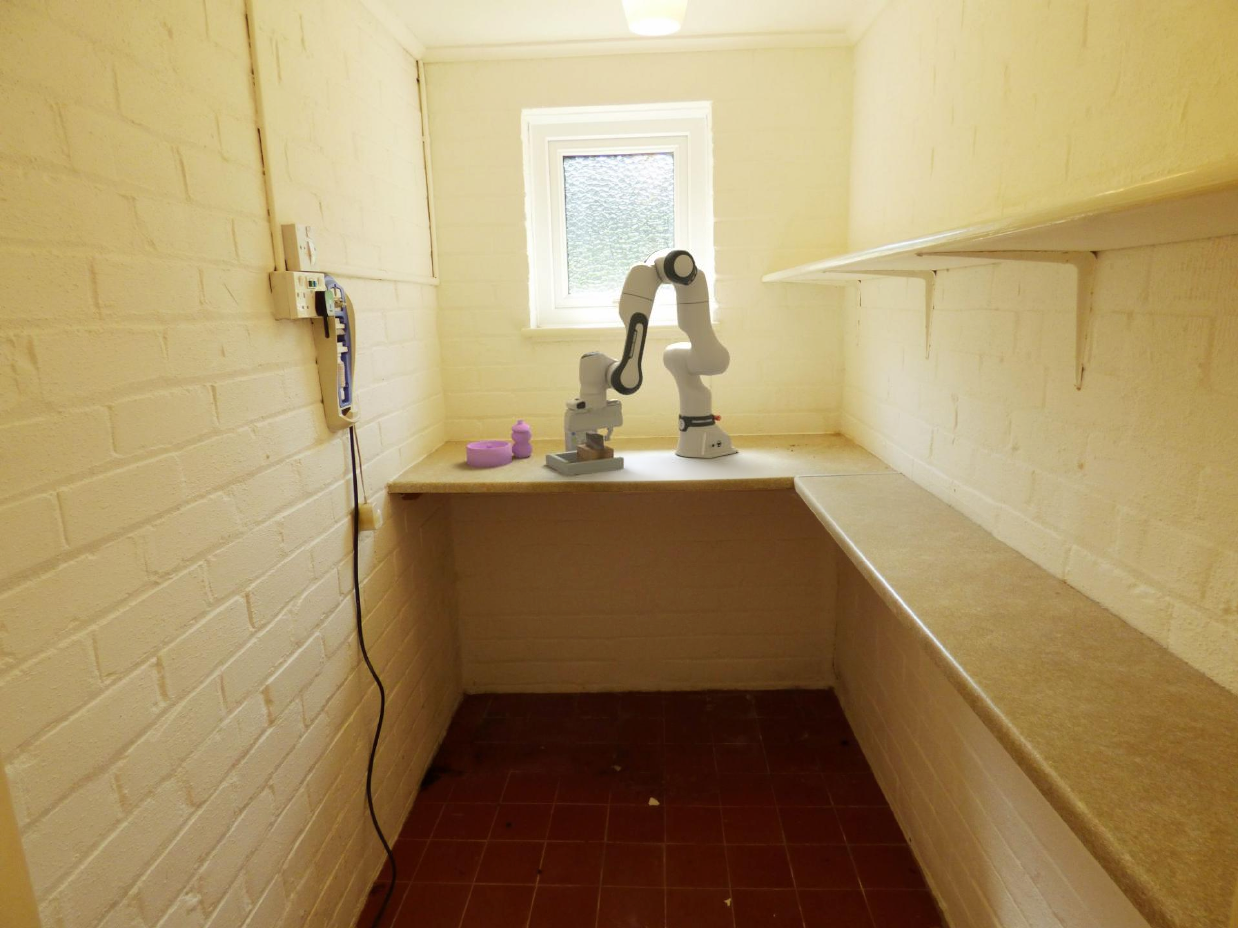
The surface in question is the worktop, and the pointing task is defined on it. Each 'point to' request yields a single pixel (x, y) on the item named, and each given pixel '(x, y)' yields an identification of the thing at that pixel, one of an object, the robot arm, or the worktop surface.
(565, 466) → the bay
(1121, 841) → the worktop surface
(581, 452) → the brown and grey block
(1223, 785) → the worktop surface
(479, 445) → the container set
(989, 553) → the worktop surface
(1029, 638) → the worktop surface
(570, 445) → the light bulb box
